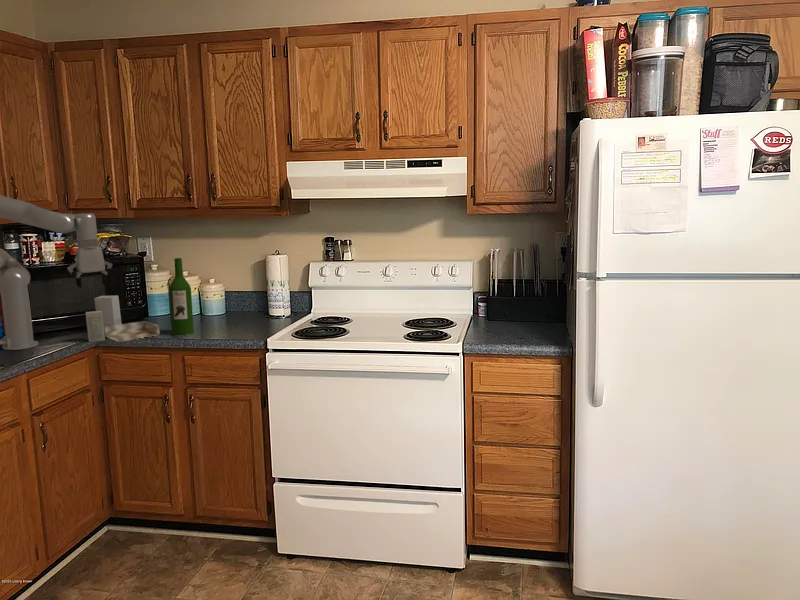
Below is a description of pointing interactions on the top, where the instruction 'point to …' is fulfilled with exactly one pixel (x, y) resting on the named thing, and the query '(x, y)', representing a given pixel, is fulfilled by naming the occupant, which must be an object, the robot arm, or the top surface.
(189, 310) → the wine bottle
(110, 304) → the skincare box
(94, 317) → the skincare box
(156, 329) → the tray
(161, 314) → the top surface
